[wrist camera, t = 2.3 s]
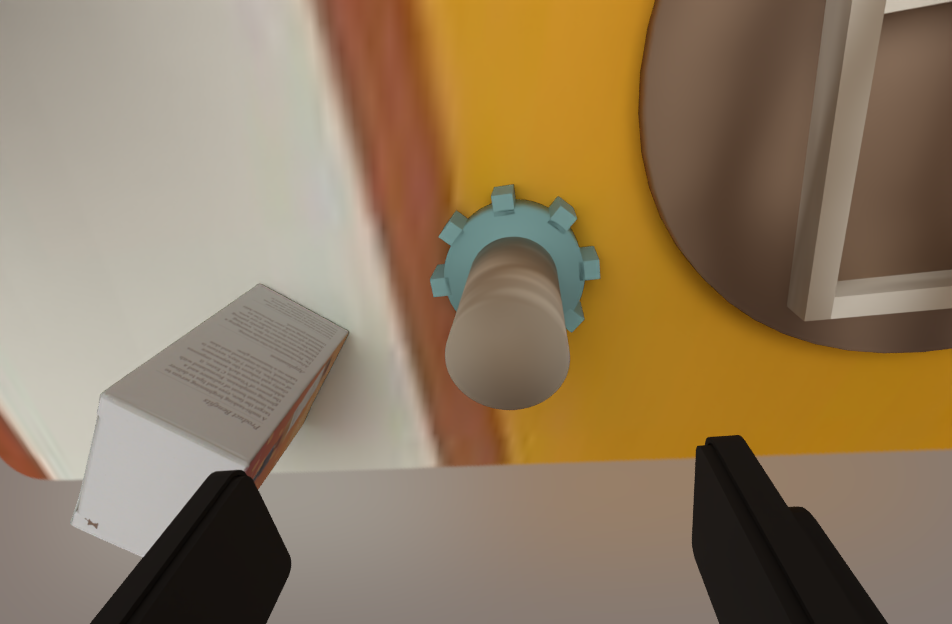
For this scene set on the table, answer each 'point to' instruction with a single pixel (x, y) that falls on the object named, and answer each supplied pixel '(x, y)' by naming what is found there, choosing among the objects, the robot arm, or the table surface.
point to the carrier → (808, 161)
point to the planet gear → (512, 298)
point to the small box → (203, 414)
